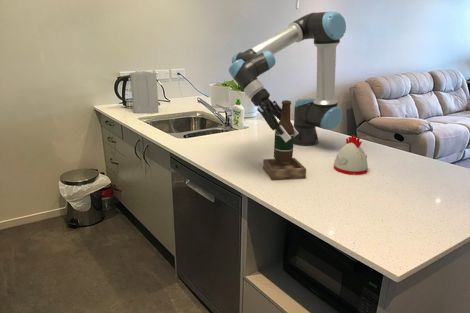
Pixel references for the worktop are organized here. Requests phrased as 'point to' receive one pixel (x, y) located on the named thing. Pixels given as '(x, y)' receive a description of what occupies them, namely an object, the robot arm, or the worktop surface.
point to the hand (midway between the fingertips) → (292, 137)
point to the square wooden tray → (284, 169)
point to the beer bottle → (282, 148)
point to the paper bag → (144, 92)
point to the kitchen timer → (351, 158)
